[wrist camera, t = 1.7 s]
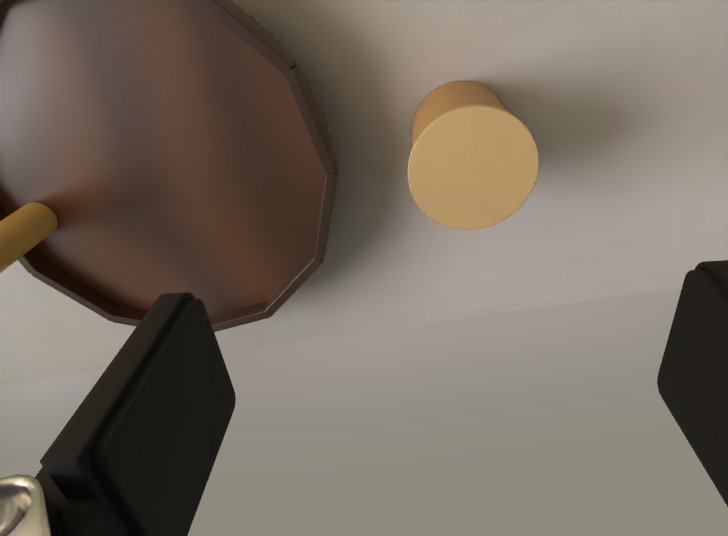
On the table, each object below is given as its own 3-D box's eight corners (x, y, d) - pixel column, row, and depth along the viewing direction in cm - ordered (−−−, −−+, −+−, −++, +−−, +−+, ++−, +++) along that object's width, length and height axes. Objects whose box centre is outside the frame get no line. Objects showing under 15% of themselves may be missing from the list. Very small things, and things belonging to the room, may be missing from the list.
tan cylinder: (499, 59, 27) (526, 86, 21) (520, 160, 30) (549, 209, 24) (393, 97, 29) (390, 132, 23) (423, 190, 32) (428, 243, 26)
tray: (229, -119, 22) (147, -157, 15) (384, 269, 33) (379, 355, 26) (-112, 54, 28) (-294, 88, 20) (117, 341, 38) (50, 430, 31)
